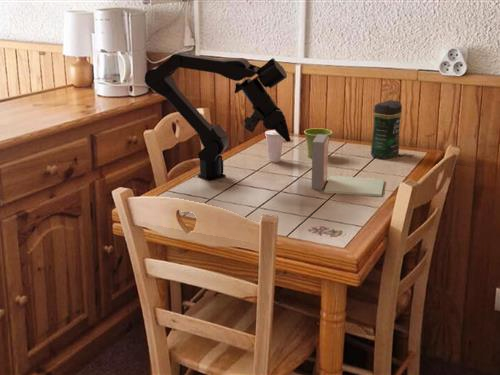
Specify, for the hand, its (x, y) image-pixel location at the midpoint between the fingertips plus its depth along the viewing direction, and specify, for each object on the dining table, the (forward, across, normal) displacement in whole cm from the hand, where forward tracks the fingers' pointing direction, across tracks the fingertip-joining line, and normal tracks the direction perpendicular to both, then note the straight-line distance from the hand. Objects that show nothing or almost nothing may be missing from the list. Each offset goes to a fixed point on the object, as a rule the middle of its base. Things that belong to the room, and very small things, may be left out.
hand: (289, 141), depth 199 cm
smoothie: (+5, -24, -8) cm, 26 cm away
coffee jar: (+26, -30, +23) cm, 45 cm away
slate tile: (+16, 0, 0) cm, 16 cm away
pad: (+22, +3, +8) cm, 23 cm away
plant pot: (+13, -28, +4) cm, 31 cm away
